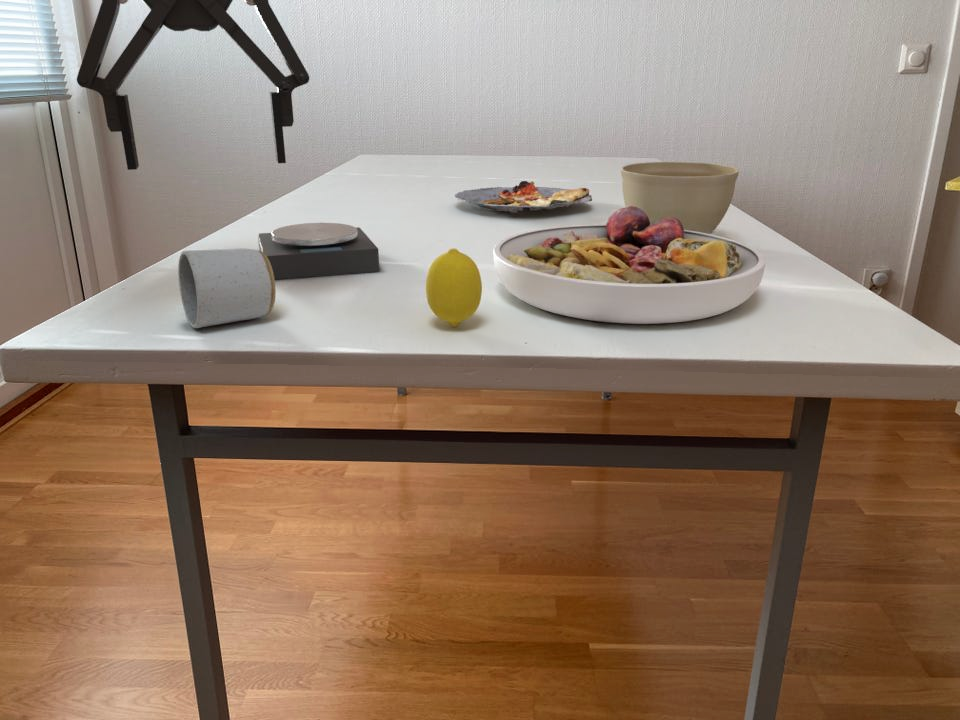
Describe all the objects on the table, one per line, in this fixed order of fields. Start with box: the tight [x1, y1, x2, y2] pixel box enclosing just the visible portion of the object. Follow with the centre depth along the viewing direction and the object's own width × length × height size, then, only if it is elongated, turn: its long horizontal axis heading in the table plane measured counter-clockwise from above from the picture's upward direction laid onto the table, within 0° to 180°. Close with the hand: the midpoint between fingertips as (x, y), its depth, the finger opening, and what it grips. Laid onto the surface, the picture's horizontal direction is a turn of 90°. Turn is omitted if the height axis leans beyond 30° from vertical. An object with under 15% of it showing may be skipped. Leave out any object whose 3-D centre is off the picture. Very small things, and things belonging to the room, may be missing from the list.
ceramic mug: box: [177, 247, 277, 329], centre depth 80 cm, size 11×8×8 cm
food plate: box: [454, 180, 593, 214], centre depth 142 cm, size 25×23×4 cm
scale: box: [257, 226, 380, 281], centre depth 102 cm, size 14×14×3 cm
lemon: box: [425, 248, 483, 328], centre depth 77 cm, size 6×6×8 cm
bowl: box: [492, 206, 766, 325], centre depth 88 cm, size 30×30×8 cm
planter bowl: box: [620, 161, 740, 235], centre depth 112 cm, size 16×16×11 cm
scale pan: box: [271, 222, 358, 246], centre depth 102 cm, size 11×11×1 cm
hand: (209, 165), depth 75 cm, fingers open, 13 cm apart
